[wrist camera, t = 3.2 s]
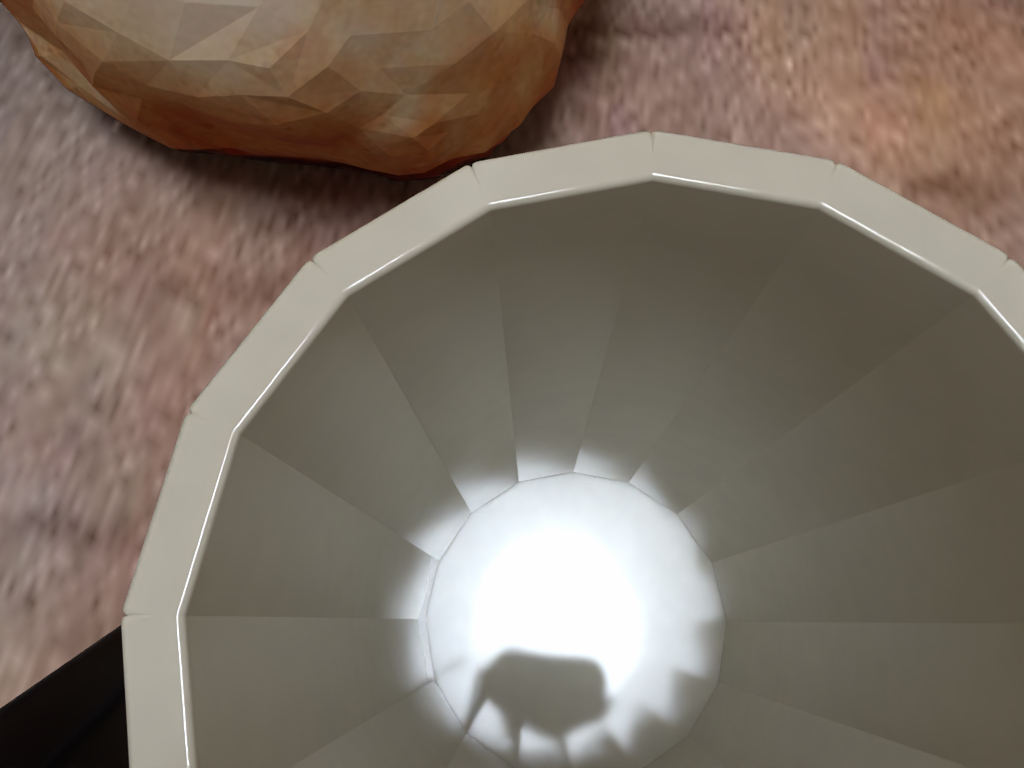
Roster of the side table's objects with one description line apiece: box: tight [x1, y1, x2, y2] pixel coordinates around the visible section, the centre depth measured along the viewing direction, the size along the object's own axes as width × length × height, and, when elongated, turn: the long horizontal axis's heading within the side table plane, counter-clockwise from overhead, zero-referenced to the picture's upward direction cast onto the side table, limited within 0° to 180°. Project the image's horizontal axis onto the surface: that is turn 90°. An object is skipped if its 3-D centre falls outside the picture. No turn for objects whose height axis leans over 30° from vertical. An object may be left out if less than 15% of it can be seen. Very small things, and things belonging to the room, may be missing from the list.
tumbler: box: [121, 131, 1024, 768], centre depth 11 cm, size 7×7×12 cm
